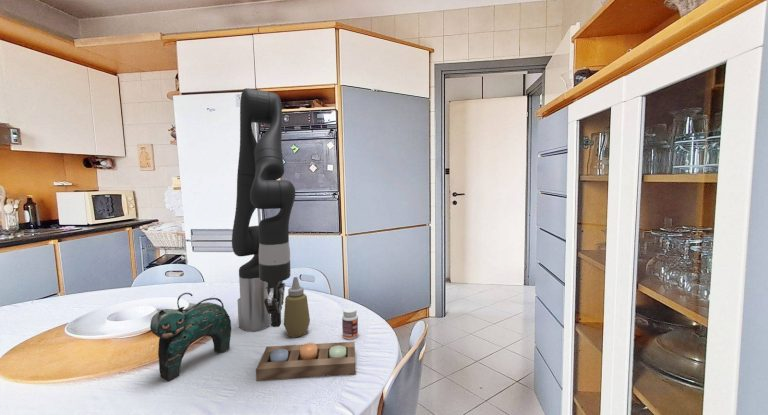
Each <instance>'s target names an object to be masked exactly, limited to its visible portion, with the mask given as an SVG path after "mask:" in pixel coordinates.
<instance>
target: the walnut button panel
mask: <svg viewBox="0 0 768 415" xmlns="http://www.w3.org/2000/svg"><path fill="white" fill-rule="evenodd" d="M315 344H316V345H317V354H318V358H317V359H312V360H300V347H301V346H302V345H303V344H293V345H292V344H289V345H272V346H270V345H269V346H266V347H265V349H264V351H263V353H262V355H261V357H260V359H259V361H258V365H257V366H256V368H255V378H256V379H255V381H256V382H261V381H263V382H264V381H265V382H266V381H276V380H292V379H307V378H320V377H322V378H323V377H337V376H338V377H339V376H347V375H348V376H349V375H356V372H357V371H356V346H355V345H356V344H355V341H343V342H326V343H325V342H322V343H315ZM338 345H340V346H344V347H346V357H344V358H330V357H329V349H330V348H331V347H333V346H338ZM277 349H286V350H288V361H279V362H271V358H270V354H271V352H273V351H274V350H277Z"/></svg>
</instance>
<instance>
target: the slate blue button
mask: <svg viewBox="0 0 768 415" xmlns="http://www.w3.org/2000/svg"><path fill="white" fill-rule="evenodd" d="M270 358H271V362H279V361H288V350H286V349H277V350H274V351H273V352H271V354H270Z"/></svg>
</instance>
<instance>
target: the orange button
mask: <svg viewBox="0 0 768 415" xmlns="http://www.w3.org/2000/svg"><path fill="white" fill-rule="evenodd" d="M316 344H317V343H313V342H307V343H304V344H301V345H302V346H301V347H300V360H312V359H317V358H318V354H317V345H316Z"/></svg>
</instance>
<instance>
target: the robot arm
mask: <svg viewBox="0 0 768 415" xmlns="http://www.w3.org/2000/svg"><path fill="white" fill-rule="evenodd" d="M240 94H241V95H240V100H239V102H240V103H239V153H238V162H237V163H238V164H237V175H236V176H237V177H236V201H235V202H236V203H235V212H234V220H233V225H232V233H231V248H232V251H233V253H234V255H236V256H237V257H246V256H252V255H253V257H252V258H251V259H250V260H249V261H247V262H246V263H244V264H242V265H241V266H240V267H239V269H238V277H239V279H238V282H239V298H238V299H237V318H238V319H237V321H238V328H240V329H241V330H243V331H247V332H256V331H261V330H264V329H266V328H268V327H270V326H271V328H279V327H280V326H281V324H282V310H283V305H284V301H285V300H284V299H285V289H286V282H284V281H286V280H288V279H289V278H290V277H291V249H290V240H289V239H290V237H289V236H290V235H289V234H290V232H289V231H290V230H289V229H290V228H289V227H290V226H289V225H290V218H291V213H292V209H293V206H294V202H295V200H296V188H295V186H294V184H293V182H291V180H285V179H281V178H282V177H283V176H284V174H285V164H284V156H283V150H282V148H283V147H282V134H283V133H282V132H283V109H282V108H283V107H282V101H281V97H280V96H279V95H278V94H277V93H275V92H270V91H267V90H266V91H265V90H259V89H254V88H247V87H246V88H244V89H243V90H242V91H241V93H240ZM253 123H256V124H263V125H269V127H268V128H267V130H266V131H265V133H264V134H263V135H262V136H261V137H260V138H259V139H258V141H257V139H256V137H255V135H254V132H253V131H254V130H253ZM256 209H259V210H273V209H275V210H276V209H280V210H279V211H278V213H277V214H275V215H274V216H270V217H266V218H263V219H261V220H260V221H259V222H258V225H251V226H250V222H251V218H252V217H253V214H254V212H255V211H256Z"/></svg>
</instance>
